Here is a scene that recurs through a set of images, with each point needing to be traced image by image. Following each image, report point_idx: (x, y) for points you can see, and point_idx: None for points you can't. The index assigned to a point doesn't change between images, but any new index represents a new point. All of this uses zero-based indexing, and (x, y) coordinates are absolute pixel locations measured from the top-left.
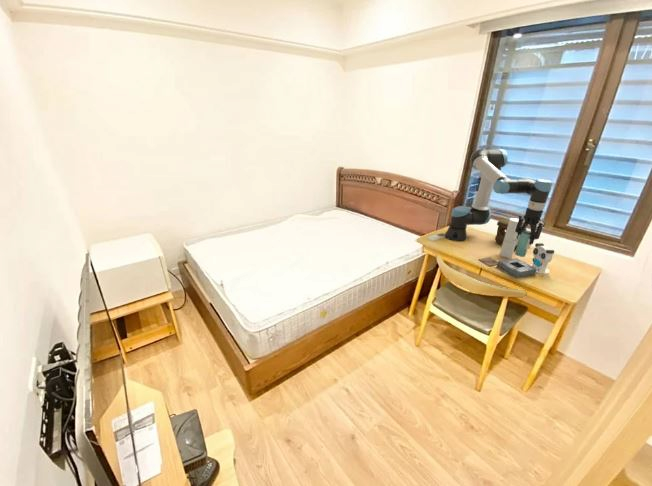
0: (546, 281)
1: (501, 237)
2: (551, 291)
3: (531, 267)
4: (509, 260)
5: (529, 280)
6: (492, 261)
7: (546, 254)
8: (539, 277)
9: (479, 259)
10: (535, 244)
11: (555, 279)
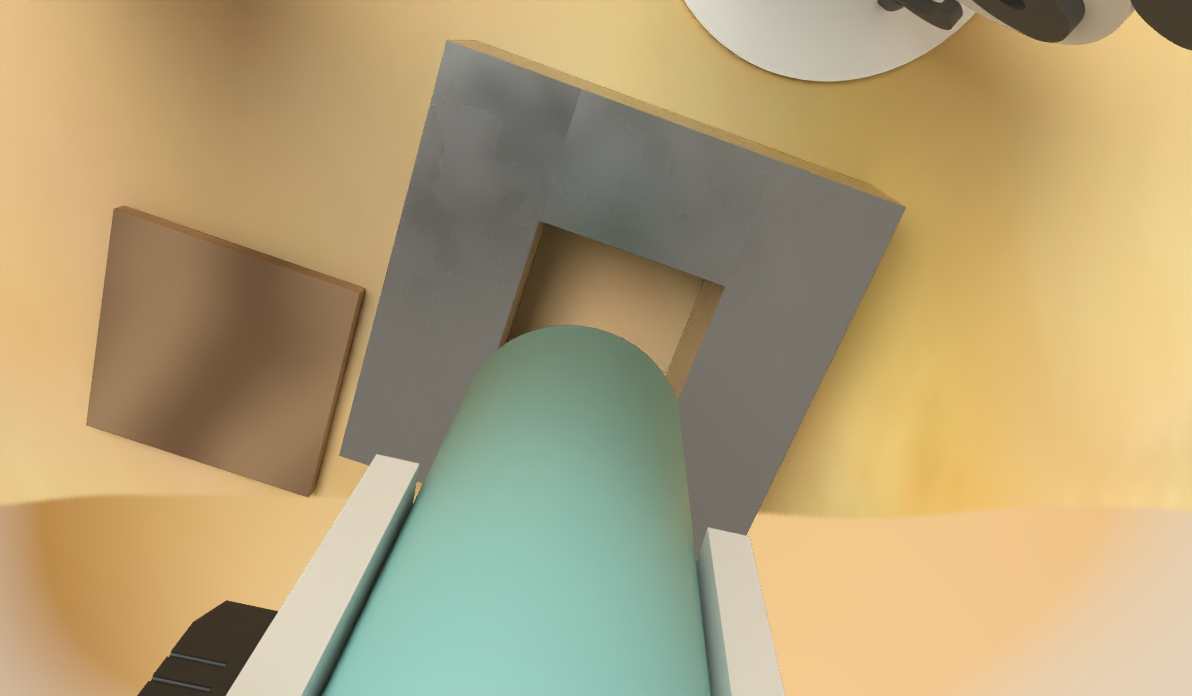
0: (1068, 263)
1: None
2: (1175, 498)
3: (813, 236)
4: (427, 279)
5: (867, 435)
6: (240, 330)
7: (1124, 18)
8: (951, 216)
9: (101, 429)
10: None
11: (1178, 57)
